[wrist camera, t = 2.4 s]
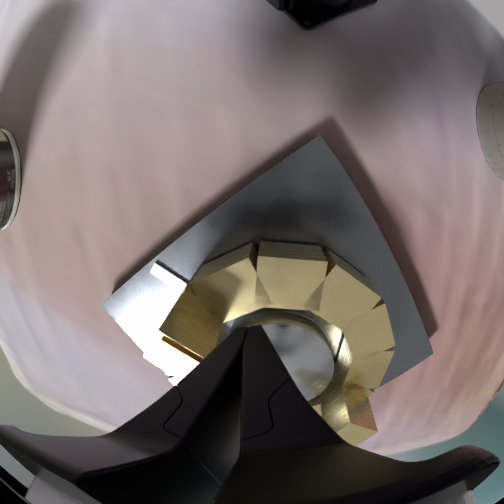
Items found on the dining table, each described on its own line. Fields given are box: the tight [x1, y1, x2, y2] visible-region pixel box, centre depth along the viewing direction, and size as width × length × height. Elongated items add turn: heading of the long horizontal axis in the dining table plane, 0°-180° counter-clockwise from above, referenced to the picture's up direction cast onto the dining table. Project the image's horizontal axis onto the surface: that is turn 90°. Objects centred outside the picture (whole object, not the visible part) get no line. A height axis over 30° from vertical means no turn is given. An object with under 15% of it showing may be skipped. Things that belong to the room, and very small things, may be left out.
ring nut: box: [143, 241, 395, 446], centre depth 14 cm, size 14×14×6 cm
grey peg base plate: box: [102, 135, 433, 401], centre depth 16 cm, size 18×18×4 cm
